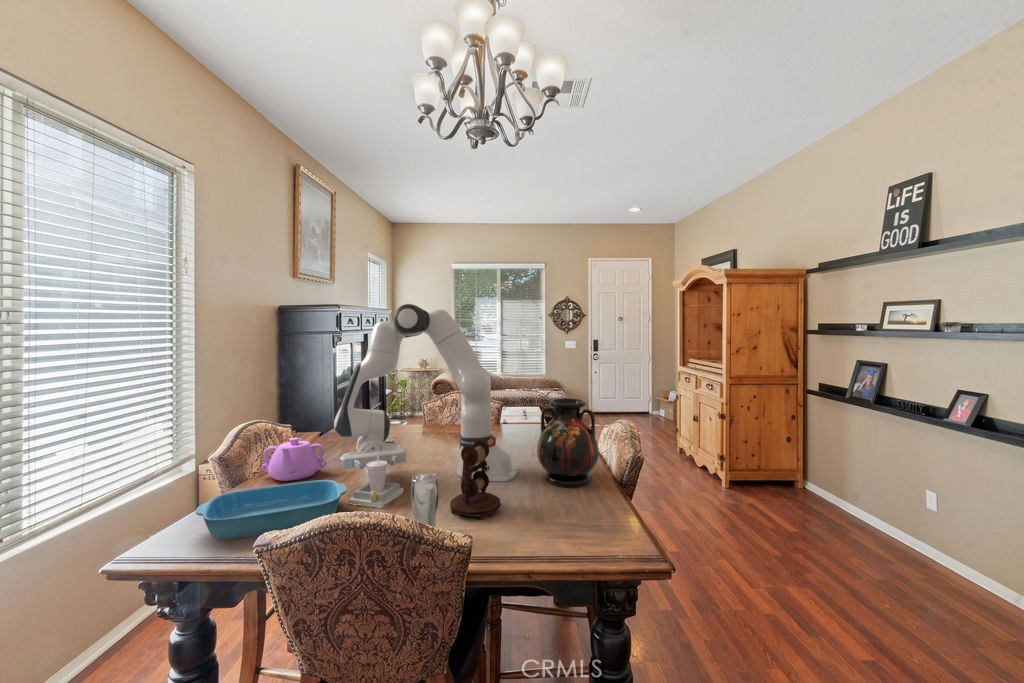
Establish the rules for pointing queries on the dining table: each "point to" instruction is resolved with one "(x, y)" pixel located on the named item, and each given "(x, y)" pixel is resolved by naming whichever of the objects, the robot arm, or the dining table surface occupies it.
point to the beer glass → (425, 498)
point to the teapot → (293, 460)
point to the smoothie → (377, 474)
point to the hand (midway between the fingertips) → (377, 464)
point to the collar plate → (376, 495)
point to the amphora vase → (567, 444)
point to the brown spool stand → (475, 484)
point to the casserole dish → (269, 508)
